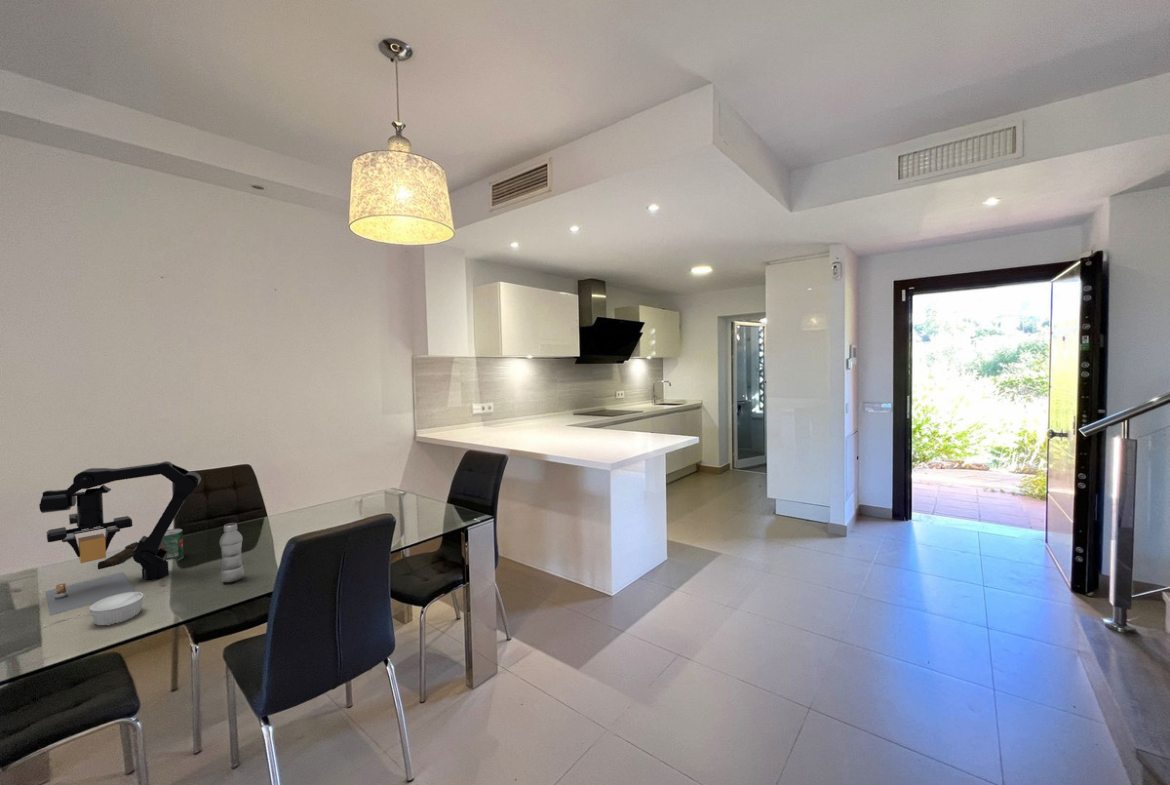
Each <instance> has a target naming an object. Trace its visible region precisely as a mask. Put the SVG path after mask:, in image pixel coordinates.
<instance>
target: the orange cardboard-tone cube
mask: <svg viewBox="0 0 1170 785" xmlns="http://www.w3.org/2000/svg"><path fill="white" fill-rule="evenodd" d="M77 540H78V541H77V544H78V548H79V552H80V557H78V559H79V563H80V564H85V563H89V562H93V561H99V560H102V559H107V551H106V544H105V533H99V534H98V533H97V534H92V535H87V536H82V537H78V538H77Z"/></svg>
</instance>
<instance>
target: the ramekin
mask: <svg viewBox="0 0 1170 785" xmlns="http://www.w3.org/2000/svg"><path fill="white" fill-rule="evenodd" d="M144 598H145V595H144V593H142V592H140V591H136V592H128V593H122V594H118V595H114V596H110V597H107V598H105V599H102V600H100V601H98V602H96V603H94V604H90V607H89V609H88V610H89V613H90V614H91V617H92V620H93V624H95V625H97V626H99V625H108V624H113V625H115V624H114V623H117V622H121V621H124V620H126V621H128V620H127V619H129V618H131V617H133V616H135V615H136V616H137V615H138V614H139V613H140V612H141V610H142V605H143V599H144ZM136 616H135V617H136ZM133 618H134V617H133ZM131 619H132V618H131ZM129 620H130V619H129ZM124 622H125V621H124ZM121 623H122V622H121ZM117 624H118V623H117ZM108 626H109V625H108Z"/></svg>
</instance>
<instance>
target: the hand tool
mask: <svg viewBox="0 0 1170 785" xmlns="http://www.w3.org/2000/svg"><path fill="white" fill-rule="evenodd" d="M138 542H139V541H138ZM138 542H137V541H135V542H132V543H130V544H127V545H126V546H124V549H123V550H121V551H119V552H117V553H115V554H114V555H112V556H110V557H107V558H105V559H104V560H101V561H98V563H97V571H98V570H102V569H107V568H110V567H115V566H116V565H117V564H119V563H121V562H122V561H124V560H126V559H128V558H129V557H132V558H133V555H134V553H135V552H134V553H132V552H133V551H134V549H135V548H136V547H137V545H138Z"/></svg>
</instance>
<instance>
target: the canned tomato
mask: <svg viewBox="0 0 1170 785" xmlns="http://www.w3.org/2000/svg"><path fill="white" fill-rule="evenodd" d="M183 538H184V537H183V529H181V528H171V529H168V530H167V531H166V533H165V535H164V539H163V542H162V545H161V548H162V549H164V550H166V551H168V552H169V553H168V556H167V558H166V559H165V560H166V561H167V560H173V559H175V560H176V561H181V560H183V558H185V557H184V546H183V544H184V540H183Z"/></svg>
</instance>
